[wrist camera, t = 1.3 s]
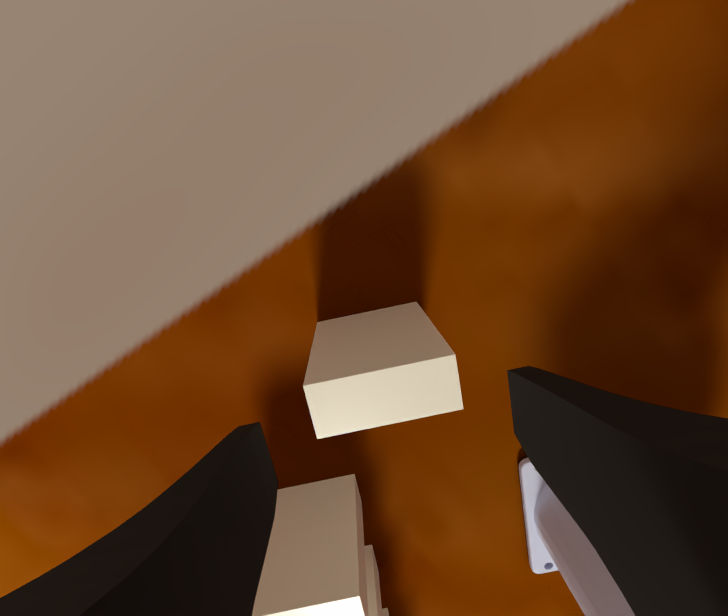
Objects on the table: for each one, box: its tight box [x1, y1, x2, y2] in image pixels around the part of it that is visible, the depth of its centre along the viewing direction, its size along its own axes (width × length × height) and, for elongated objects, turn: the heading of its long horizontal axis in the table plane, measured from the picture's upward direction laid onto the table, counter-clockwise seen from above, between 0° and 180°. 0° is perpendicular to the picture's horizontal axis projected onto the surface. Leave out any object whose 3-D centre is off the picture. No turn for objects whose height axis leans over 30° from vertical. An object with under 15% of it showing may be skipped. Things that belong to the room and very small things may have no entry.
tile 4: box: [252, 474, 369, 616], centre depth 19 cm, size 5×2×7 cm, turn 101°
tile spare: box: [303, 302, 463, 439], centre depth 16 cm, size 5×2×7 cm, turn 101°
